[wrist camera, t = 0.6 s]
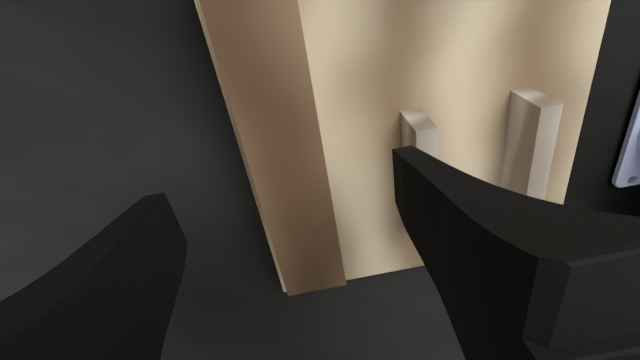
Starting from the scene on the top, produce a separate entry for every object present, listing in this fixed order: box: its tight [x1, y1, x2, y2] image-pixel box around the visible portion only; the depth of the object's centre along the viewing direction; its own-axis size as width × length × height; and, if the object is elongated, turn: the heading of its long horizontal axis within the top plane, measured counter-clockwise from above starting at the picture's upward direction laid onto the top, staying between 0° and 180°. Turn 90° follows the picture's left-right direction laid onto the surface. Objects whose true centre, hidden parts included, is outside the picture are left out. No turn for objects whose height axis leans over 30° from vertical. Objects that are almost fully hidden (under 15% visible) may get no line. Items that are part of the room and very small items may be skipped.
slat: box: [199, 0, 347, 296], centre depth 16 cm, size 3×16×4 cm, turn 9°
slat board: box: [194, 0, 611, 292], centre depth 14 cm, size 18×29×7 cm, turn 9°
